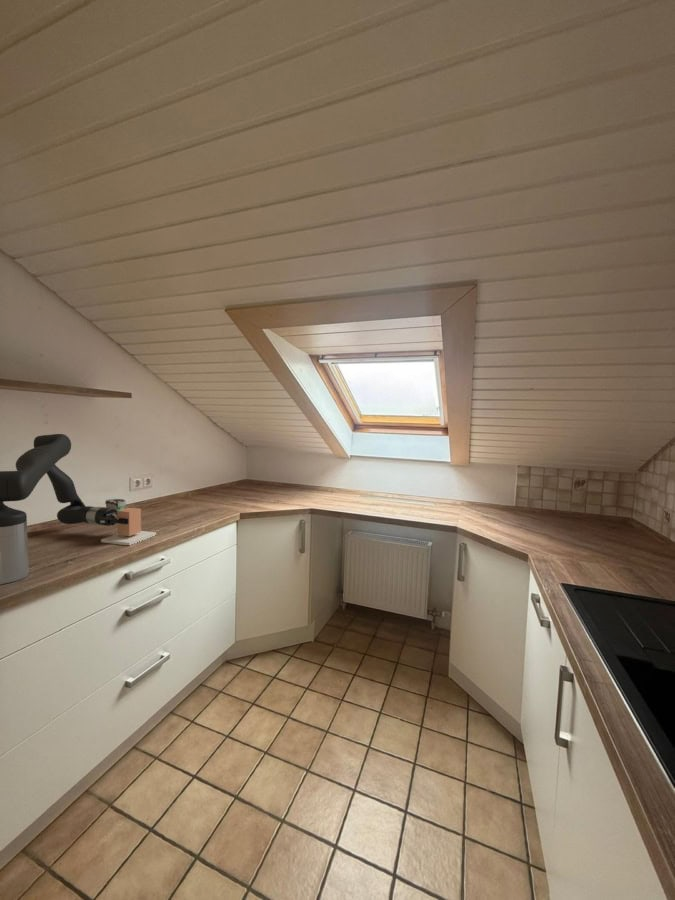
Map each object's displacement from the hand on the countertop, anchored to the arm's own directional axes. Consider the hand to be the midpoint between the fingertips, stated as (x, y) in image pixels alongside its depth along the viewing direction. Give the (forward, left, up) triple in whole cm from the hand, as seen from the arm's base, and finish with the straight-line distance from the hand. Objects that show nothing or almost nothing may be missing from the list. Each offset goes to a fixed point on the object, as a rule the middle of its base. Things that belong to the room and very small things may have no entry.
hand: (134, 519), depth 143 cm
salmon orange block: (0, +2, -6) cm, 6 cm away
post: (0, +2, -8) cm, 9 cm away
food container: (+21, +30, -9) cm, 38 cm away
